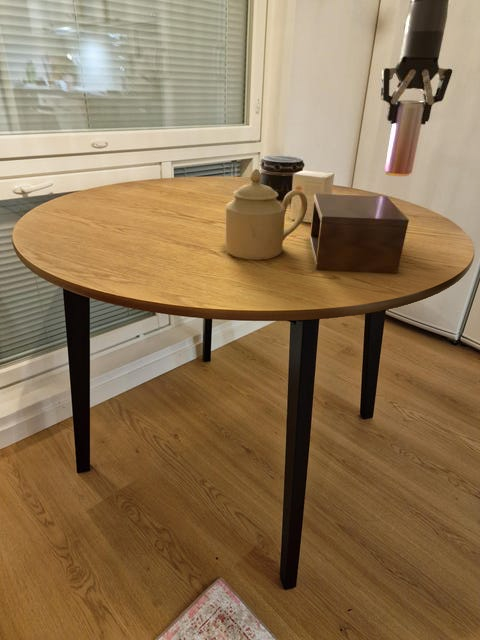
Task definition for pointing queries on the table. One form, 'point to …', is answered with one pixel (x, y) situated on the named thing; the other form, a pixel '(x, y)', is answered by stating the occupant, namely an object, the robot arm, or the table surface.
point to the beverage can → (404, 137)
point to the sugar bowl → (258, 220)
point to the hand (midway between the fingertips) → (406, 123)
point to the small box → (309, 190)
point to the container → (280, 173)
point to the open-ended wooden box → (357, 233)
